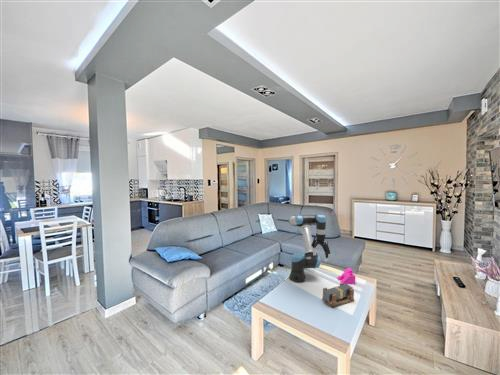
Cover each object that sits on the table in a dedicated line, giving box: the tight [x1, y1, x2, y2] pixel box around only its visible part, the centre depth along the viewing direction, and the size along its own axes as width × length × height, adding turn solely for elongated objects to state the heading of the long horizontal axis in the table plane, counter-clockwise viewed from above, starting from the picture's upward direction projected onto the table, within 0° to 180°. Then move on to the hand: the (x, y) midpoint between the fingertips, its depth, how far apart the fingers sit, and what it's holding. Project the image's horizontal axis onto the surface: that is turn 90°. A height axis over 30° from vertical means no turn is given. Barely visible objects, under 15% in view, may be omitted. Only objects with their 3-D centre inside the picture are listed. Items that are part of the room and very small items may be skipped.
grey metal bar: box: [324, 284, 354, 302], centre depth 165 cm, size 24×6×6 cm, turn 113°
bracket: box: [336, 267, 356, 285], centre depth 194 cm, size 12×10×10 cm
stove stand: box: [321, 282, 355, 309], centre depth 165 cm, size 11×22×10 cm, turn 113°
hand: (320, 258), depth 178 cm, fingers open, 13 cm apart
